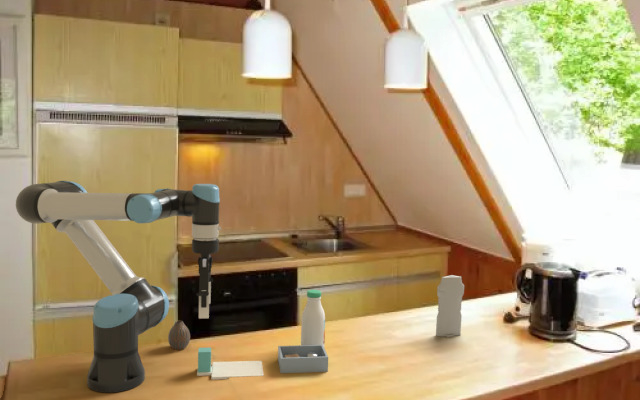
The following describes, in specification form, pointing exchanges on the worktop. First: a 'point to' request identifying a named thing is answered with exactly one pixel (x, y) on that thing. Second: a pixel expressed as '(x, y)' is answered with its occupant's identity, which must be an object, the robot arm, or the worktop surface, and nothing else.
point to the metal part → (312, 355)
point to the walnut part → (291, 355)
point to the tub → (302, 359)
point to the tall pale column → (449, 306)
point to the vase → (179, 336)
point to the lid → (226, 367)
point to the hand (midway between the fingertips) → (204, 310)
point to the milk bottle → (313, 320)
